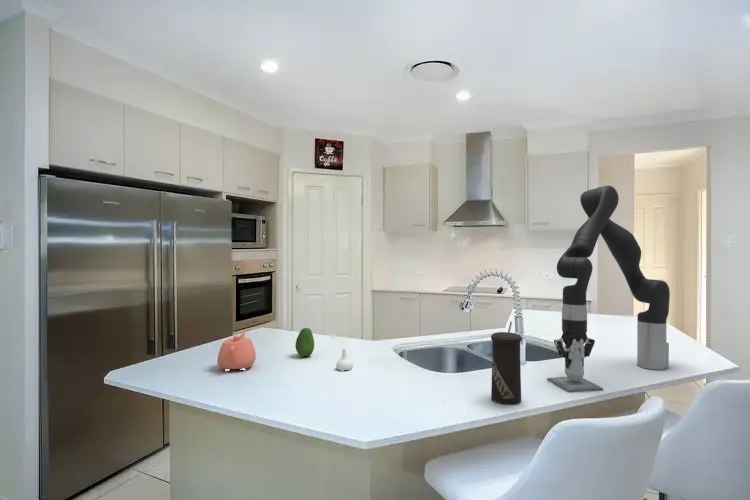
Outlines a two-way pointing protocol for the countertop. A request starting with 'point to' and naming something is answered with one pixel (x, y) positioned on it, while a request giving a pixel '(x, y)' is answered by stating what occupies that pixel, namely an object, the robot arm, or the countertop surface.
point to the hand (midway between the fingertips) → (574, 369)
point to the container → (506, 368)
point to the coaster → (574, 384)
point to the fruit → (305, 342)
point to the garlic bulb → (344, 362)
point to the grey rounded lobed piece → (575, 365)
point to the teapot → (236, 353)
